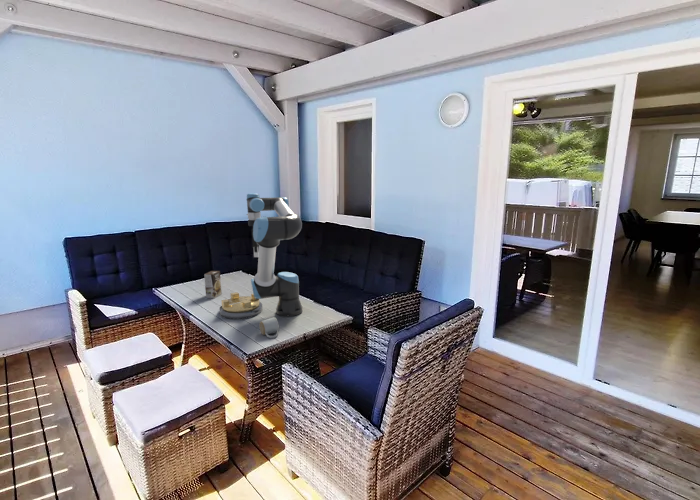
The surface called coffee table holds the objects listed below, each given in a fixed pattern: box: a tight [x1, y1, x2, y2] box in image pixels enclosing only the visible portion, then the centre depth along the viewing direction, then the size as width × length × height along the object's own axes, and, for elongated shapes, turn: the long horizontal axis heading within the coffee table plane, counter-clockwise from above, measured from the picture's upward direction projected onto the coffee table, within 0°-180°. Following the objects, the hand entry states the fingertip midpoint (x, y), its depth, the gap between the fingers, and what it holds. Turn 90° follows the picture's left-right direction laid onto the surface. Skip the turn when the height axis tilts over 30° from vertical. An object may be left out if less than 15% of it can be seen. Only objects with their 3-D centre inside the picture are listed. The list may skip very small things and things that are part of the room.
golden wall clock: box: [220, 291, 260, 313], centre depth 214 cm, size 21×21×6 cm
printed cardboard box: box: [203, 270, 223, 299], centre depth 239 cm, size 9×6×16 cm
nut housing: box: [218, 301, 263, 320], centre depth 215 cm, size 24×24×3 cm
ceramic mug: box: [258, 316, 280, 339], centre depth 184 cm, size 11×8×8 cm
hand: (256, 256), depth 227 cm, fingers closed
